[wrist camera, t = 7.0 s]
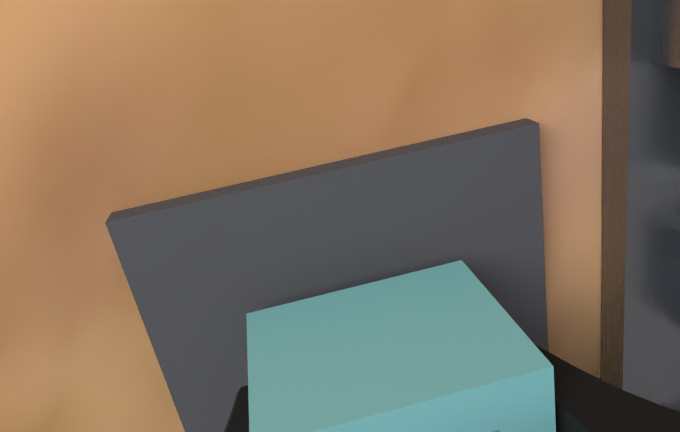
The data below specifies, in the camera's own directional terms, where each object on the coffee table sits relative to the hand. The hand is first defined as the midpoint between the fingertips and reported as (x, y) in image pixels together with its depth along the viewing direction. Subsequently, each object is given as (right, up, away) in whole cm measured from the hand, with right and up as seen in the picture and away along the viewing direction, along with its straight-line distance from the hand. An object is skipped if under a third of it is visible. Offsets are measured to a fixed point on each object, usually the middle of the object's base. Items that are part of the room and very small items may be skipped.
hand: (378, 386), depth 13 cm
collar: (0, 0, 0) cm, 0 cm away
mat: (0, +1, +2) cm, 2 cm away
